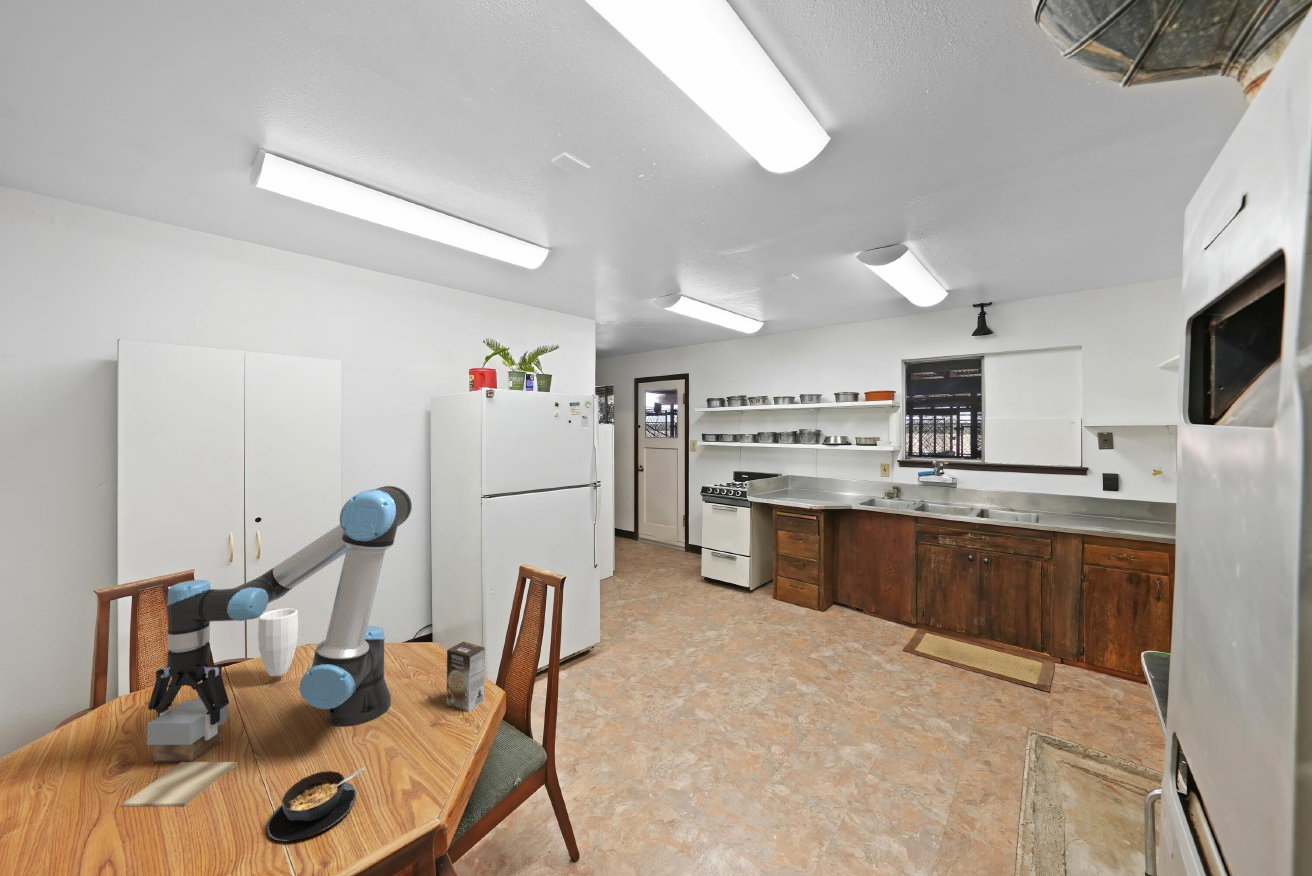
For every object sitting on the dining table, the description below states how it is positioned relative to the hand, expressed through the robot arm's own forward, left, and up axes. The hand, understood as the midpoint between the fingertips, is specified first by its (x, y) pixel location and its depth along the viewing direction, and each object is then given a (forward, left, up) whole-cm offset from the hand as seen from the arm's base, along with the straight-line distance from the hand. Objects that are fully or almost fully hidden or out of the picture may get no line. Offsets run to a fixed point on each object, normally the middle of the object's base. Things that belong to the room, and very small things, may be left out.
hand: (189, 736), depth 120 cm
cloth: (-9, +11, -4) cm, 15 cm away
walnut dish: (0, 0, -4) cm, 4 cm away
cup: (+4, -34, -4) cm, 34 cm away
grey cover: (0, 0, +1) cm, 1 cm away
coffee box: (-59, -22, -4) cm, 63 cm away
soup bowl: (-44, +20, -4) cm, 49 cm away
